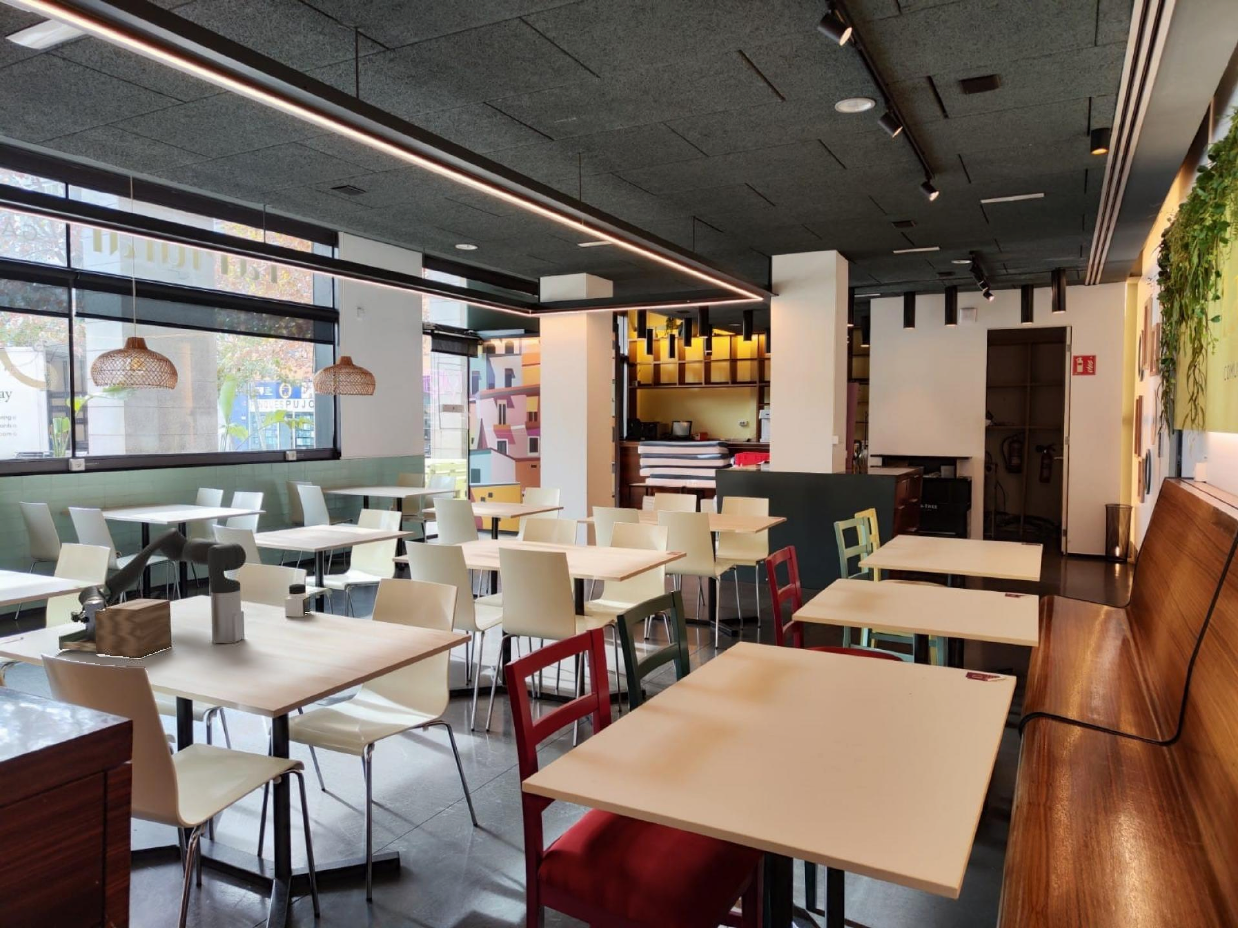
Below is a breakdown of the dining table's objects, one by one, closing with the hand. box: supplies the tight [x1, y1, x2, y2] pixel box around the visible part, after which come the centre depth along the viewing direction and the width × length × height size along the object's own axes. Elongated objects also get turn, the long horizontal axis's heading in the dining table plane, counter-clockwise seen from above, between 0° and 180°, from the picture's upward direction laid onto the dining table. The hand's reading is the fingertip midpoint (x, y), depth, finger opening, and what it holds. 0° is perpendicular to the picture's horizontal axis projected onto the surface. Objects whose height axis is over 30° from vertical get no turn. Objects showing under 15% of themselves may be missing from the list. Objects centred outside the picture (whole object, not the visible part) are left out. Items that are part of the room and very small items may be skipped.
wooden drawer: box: [58, 628, 96, 652], centre depth 278 cm, size 17×11×5 cm, turn 77°
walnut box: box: [95, 598, 173, 659], centre depth 274 cm, size 16×14×16 cm
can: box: [85, 600, 104, 641], centre depth 277 cm, size 5×5×12 cm
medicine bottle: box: [284, 583, 311, 617], centre depth 325 cm, size 7×7×12 cm
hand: (95, 619), depth 275 cm, fingers closed on can, 5 cm apart
